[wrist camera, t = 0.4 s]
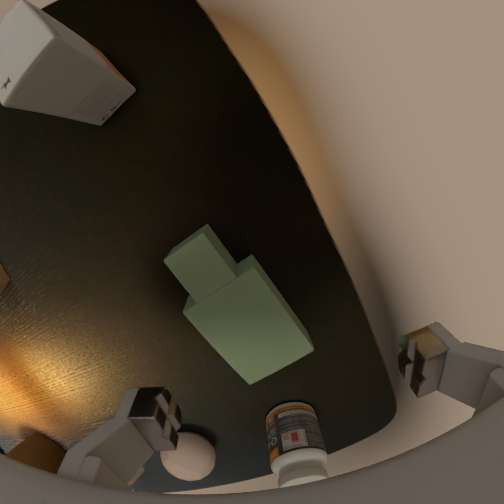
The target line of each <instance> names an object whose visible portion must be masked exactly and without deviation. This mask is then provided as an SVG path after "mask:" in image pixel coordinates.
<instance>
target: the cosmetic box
mask: <svg viewBox="0 0 504 504" xmlns="http://www.w3.org/2000/svg"><path fill="white" fill-rule="evenodd" d="M135 91H136V89H135V88H134V87H133V86H132V85H131V84H130V83H129V82H128V81H127V80H126V79H125V78H124V77H123V76H122V75H121V74H120V73H119V71H118V70H117V69H116V68H115V67H114V66H113V65H112V64H111V63H110V61H109V60H108V59H107V58H106V57H105V56H104V55H103V53H102V52H100V51H99V50H98V49H96V48H95V47H94V46H92V45H91V44H90V43H88V42H87V41H85V40H84V39H83V38H81V37H80V36H79V35H77V34H76V33H74V32H73V31H71V30H70V29H69V28H67V27H66V26H64V25H63V24H61V23H60V22H58V21H57V20H55V19H54V18H52V17H51V16H49V15H48V14H46V13H45V12H43V11H42V10H40V9H39V8H37V7H36V6H34V5H32V4H31V3H29V2H28V1H26V0H19V1H18V2H17V4H16V5H15V6H14V7H13V8H12V9H11V10H10V11H9V13H8V14H7V15H6V16H5V17H4V19H3V20H2V21H1V22H0V102H1V104H2V105H3V106H5V107H11V108H17V109H23V110H29V111H34V112H40V113H45V114H50V115H55V116H60V117H65V118H69V119H73V120H78V121H82V122H86V123H90V124H95V125H99V126H101V125H102V124H103V123H104V122H105V121H106V120H107V119H108V118H109V117H110V116H111V115H112V114H113V113H114V112H115V111H116V110H117V109H118V108H119V107H120V106H121V105H122V104H123V103H124V102H125V101H126V100H127V99H128V98H129V97H130V96H131V95H132V94H133V93H134V92H135Z"/></svg>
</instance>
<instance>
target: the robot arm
mask: <svg viewBox="0 0 504 504" xmlns="http://www.w3.org/2000/svg"><path fill="white" fill-rule="evenodd" d="M399 345H400V346H401V348H402V351H401V352H400V354H399V355H398V356H399V357H398V364H399V369H400V372H401V374H402V376H403V377H404V379H407V380H409V381H411V383H410V387H411V389H412V390H413V392H414V393H415V395H416V396H417V398H419V397H422V396H425V395H427V394H429V393H432V392H434V391H436V390H438V391H439V392H441V393H443V394H445V395H448V396H450V397H452V398H454V399H456V400H458V401H460V402H462V403H464V404H466V405H469V406H471V407H473V408H475V412H474V414H473V416H472V418H470V419H469V420H467V421H466V422H464V423H462V424H460V425H459V426H457V427H455V428H453V429H452V430H450V431H448V432H446V433H444V434H442V435H440V436H439V437H436V438H434V439H432V440H430V441H428V442H426V443H424V444H422V445H420V446H418V447H416V448H413V449H411V450H409V451H407V452H404V453H402V454H399V455H397V456H395V457H392V458H390V459H387V460H384V461H382V462H379V463H376V464H373V465H371V466H367V467H364V468H361V469H358V470H355V471H352V472H349V473H346V474H342V475H338V476H334V477H330V478H326V479H322V480H318V481H314V482H309V483H305V484H300V485H294V486H289V487H283V488H277V489H270V490H262V491H254V492H244V493H230V494H205V495H189V494H188V495H187V494H164V493H151V492H141V491H134V490H133V489H132V488H131V487H129V486H128V485H127V483H128V482H129V481H130V480H131V479H132V477H133V476H134V475H135V474H136V473H137V472H138V471H139V470H140V468H141V467H142V466H143V465H144V464H145V463H146V462H147V460H148V459H149V458H150V457H151V456H152V455H153V453H154V451H173V450H176V449H177V444H178V439H179V436H178V434H177V433H176V431H177V430H178V429H179V428H180V427H181V422H182V419H181V412H180V408H179V406H178V404H177V403H176V402H175V401H173V400H171V397H172V393H171V391H170V390H169V388H168V387H144V388H129V389H127V390H126V392H125V394H124V396H123V399H122V401H121V403H120V406H119V408H118V410H117V412H116V415H115V417H114V419H109V420H108V421H107V422H105V423H104V424H103V425H101V426H100V427H99V428H97V429H96V430H95V431H93V432H92V433H91V434H89V435H88V436H87V437H85V438H84V439H83V440H81V441H80V442H79V443H77V444H76V445H75V446H73V447H72V448H70V449H69V450H68V451H67V453H66V455H65V457H64V459H63V461H62V463H61V466H60V468H59V470H58V472H57V474H53V473H50V472H47V471H44V470H41V469H38V468H35V467H32V466H29V465H27V464H24V463H21V462H19V461H16V460H14V459H12V458H9V457H7V456H5V455H3V454H0V504H504V351H500V350H496V349H492V348H487V347H483V346H478V345H474V344H470V343H466V342H464V343H461V342H459V341H458V340H457V339H456V338H455V337H454V336H453V335H452V334H451V333H450V332H449V331H447V330H446V329H445V328H444V327H443V326H442V325H441V324H440V323H438V322H434V323H433V324H430V325H427V326H425V327H423V328H421V329H418V330H415V331H413V332H410V333H407V334H405V335H402V336H401V338H400V344H399Z"/></svg>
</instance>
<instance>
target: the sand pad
mask: <svg viewBox="0 0 504 504" xmlns="http://www.w3.org/2000/svg"><path fill="white" fill-rule="evenodd" d="M9 281H10V278H9V276H8V275H7V273H6V272H5V270H4V268H3V267H2V265H1V263H0V295H1V293H2V291H3V290H4V288H5V287H6V286H7V284H8V283H9Z"/></svg>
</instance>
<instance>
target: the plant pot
mask: <svg viewBox="0 0 504 504" xmlns="http://www.w3.org/2000/svg"><path fill="white" fill-rule="evenodd" d="M65 455H66V452H65V451H64V450H63V449H62V448H61V447H60V446H59V445H58V444H56V443H55V442H54V441H52V440H51V439H49V438H47V437H45V436H43V435H41V434H34V435H32V436H30V437H29V438H27V439H26V440H24V441H23V442H21V443H20V444H19V445H17V446H16V447H15V448H14V449H12V450H11V451H10V452H9V453H8V454H7V455H5V456H7V457H9V458H12V459H14V460H16V461H19V462H21V463H24V464H27V465H29V466H32V467H35V468H38V469H41V470H44V471H47V472H50V473H53V474H57V472H58V470H59V468H60V466H61V463H62V461H63V459H64V457H65Z"/></svg>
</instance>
